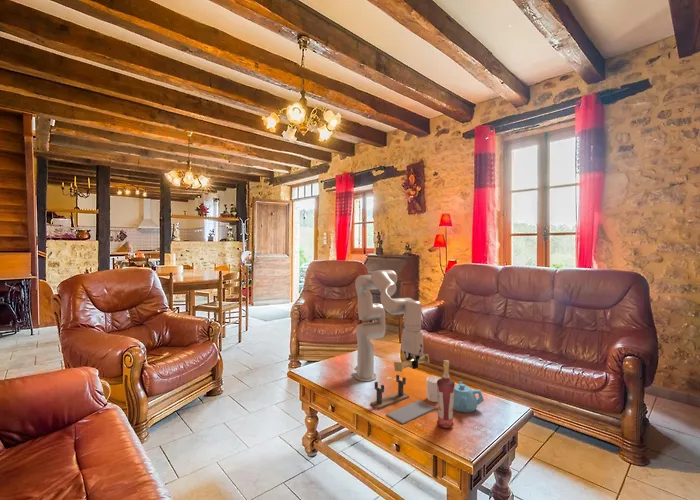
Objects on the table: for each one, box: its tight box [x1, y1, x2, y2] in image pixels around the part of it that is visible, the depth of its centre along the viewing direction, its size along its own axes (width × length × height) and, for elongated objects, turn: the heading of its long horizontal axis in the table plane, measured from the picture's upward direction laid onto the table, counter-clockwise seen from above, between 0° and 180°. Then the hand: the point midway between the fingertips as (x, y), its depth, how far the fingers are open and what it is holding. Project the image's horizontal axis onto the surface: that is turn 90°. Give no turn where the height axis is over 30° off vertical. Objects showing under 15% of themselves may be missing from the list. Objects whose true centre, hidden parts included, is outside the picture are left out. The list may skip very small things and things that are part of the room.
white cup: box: [425, 376, 441, 403], centre depth 173 cm, size 8×8×10 cm
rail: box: [393, 353, 431, 373], centre depth 160 cm, size 20×4×4 cm, turn 129°
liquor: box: [436, 359, 455, 430], centre depth 148 cm, size 7×7×28 cm
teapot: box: [453, 381, 485, 414], centre depth 166 cm, size 15×15×11 cm
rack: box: [369, 374, 410, 410], centre depth 171 cm, size 6×21×10 cm, turn 129°
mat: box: [386, 399, 437, 425], centre depth 160 cm, size 10×23×1 cm, turn 129°
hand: (412, 366), depth 160 cm, fingers closed on rail, 2 cm apart
